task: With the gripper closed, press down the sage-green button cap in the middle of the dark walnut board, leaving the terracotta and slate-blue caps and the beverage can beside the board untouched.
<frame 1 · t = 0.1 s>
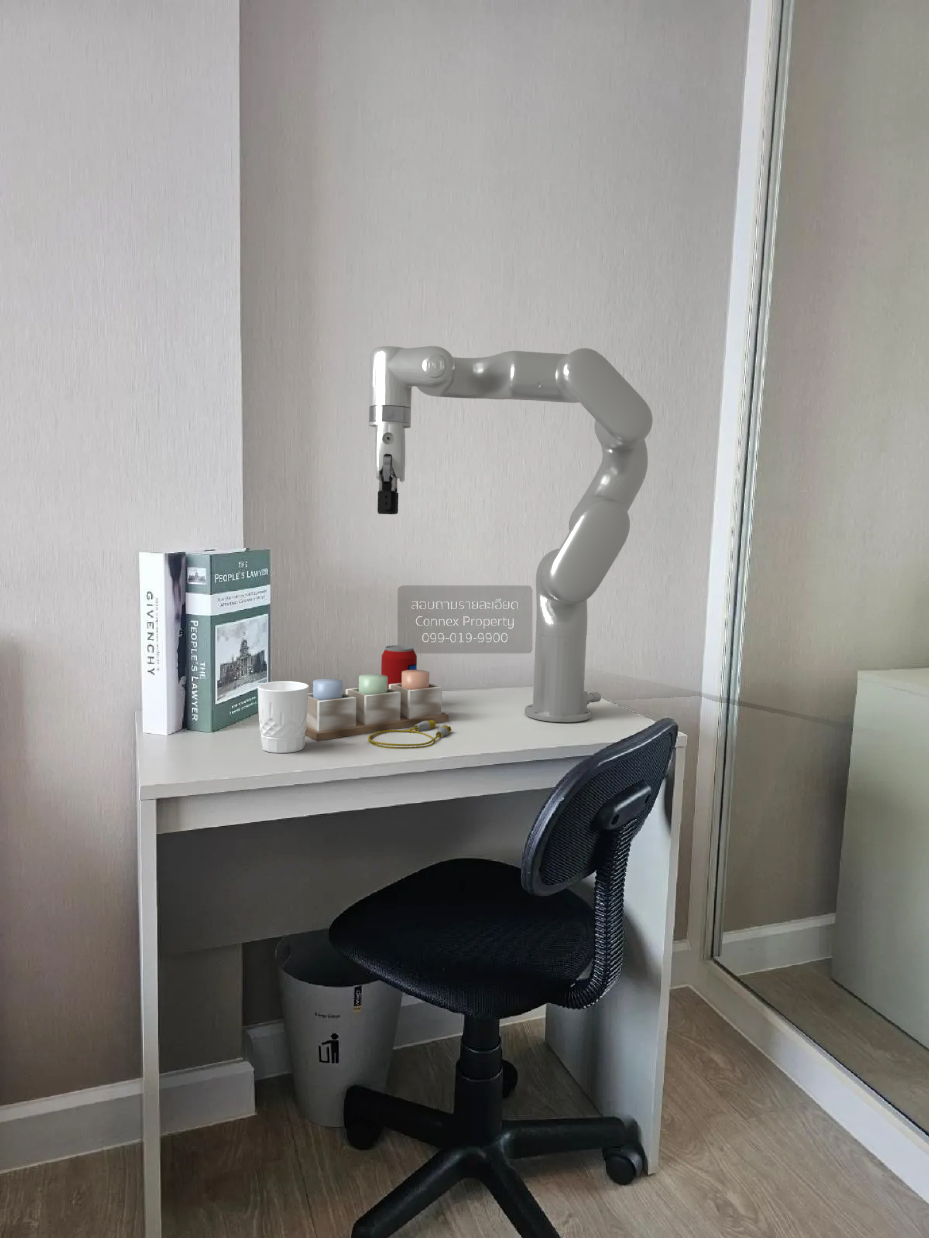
hand: (387, 514, 164), 37 cm above the table, tool pointing down, fingers open, 9 cm apart
beverage can: (398, 710, 172), on the table
sage green cap: (373, 690, 158), point 6 cm above the table, slide at 0.0 cm
button board: (372, 725, 159), on the table
white cup: (282, 749, 142), on the table
terracotta cap: (415, 685, 164), point 6 cm above the table, slide at 0.0 cm
slate blue cap: (327, 695, 153), point 6 cm above the table, slide at 0.0 cm
extension cord: (411, 742, 151), on the table
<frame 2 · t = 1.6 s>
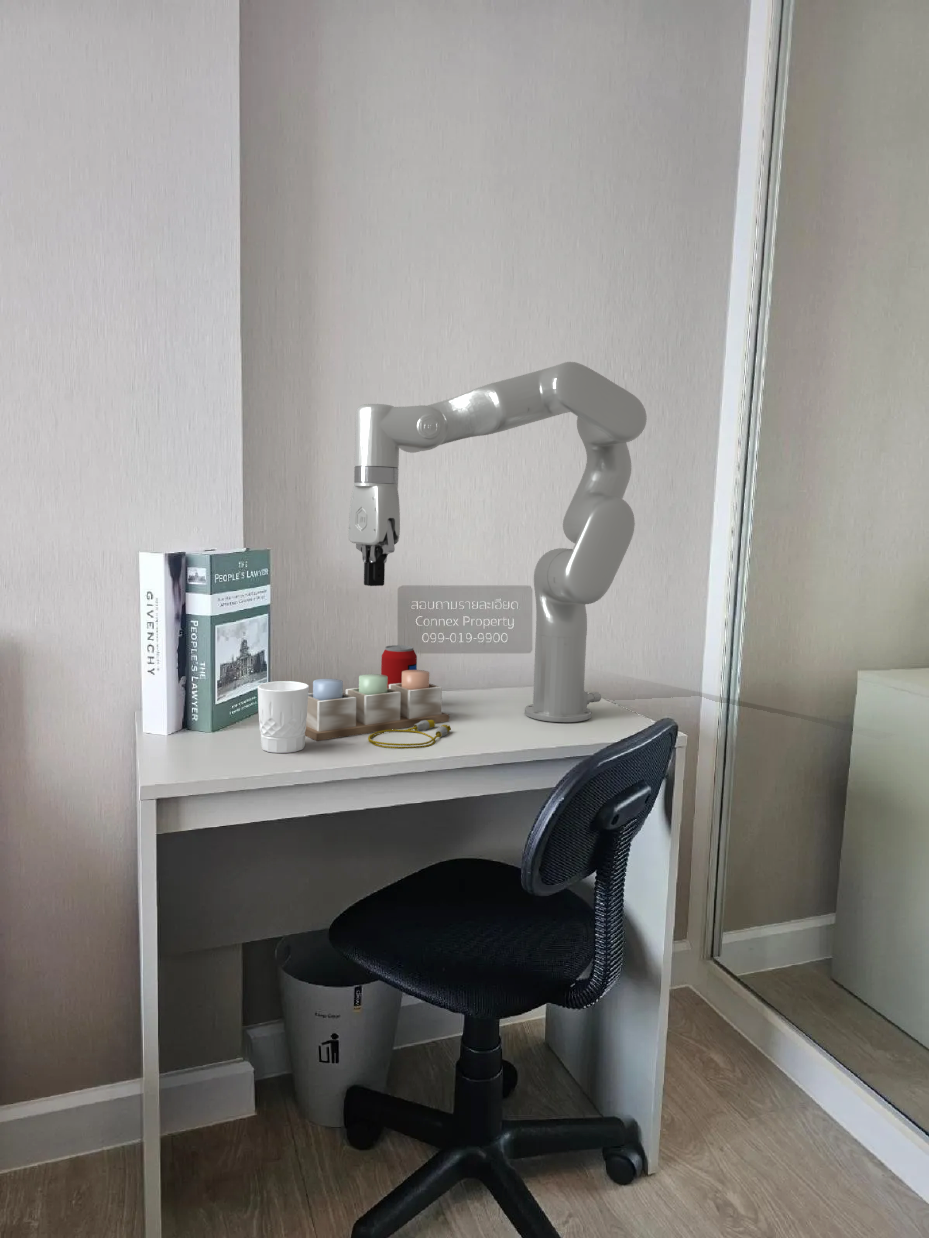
hand: (374, 585, 156), 25 cm above the table, tool pointing down, fingers closed
nothing on the table moved.
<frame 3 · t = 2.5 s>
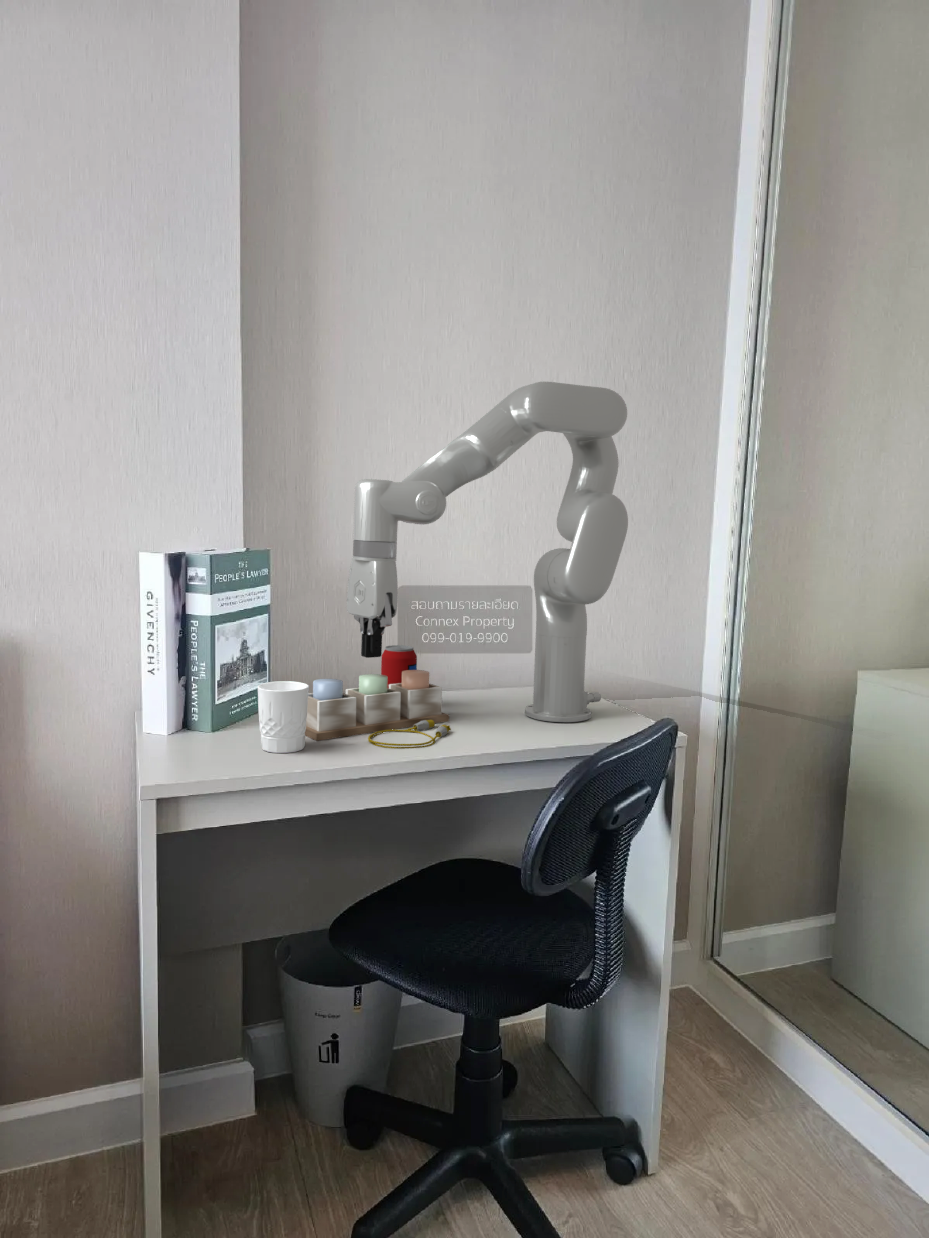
hand: (371, 656, 157), 12 cm above the table, tool pointing down, fingers closed
nothing on the table moved.
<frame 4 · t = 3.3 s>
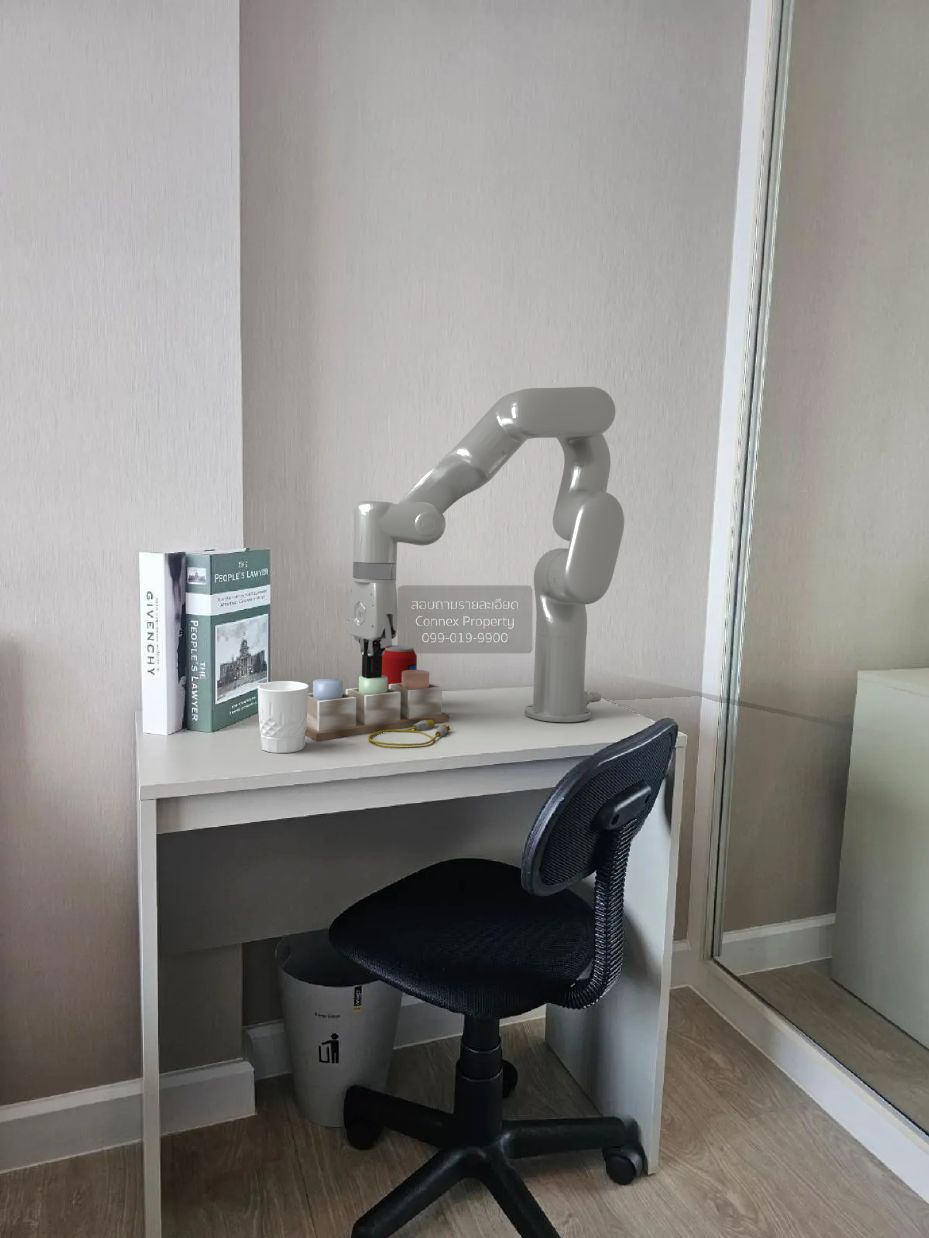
hand: (371, 677, 158), 9 cm above the table, tool pointing down, fingers closed
sage green cap: (373, 691, 158), point 6 cm above the table, slide at -0.1 cm, touching gripper
everything else where it was.
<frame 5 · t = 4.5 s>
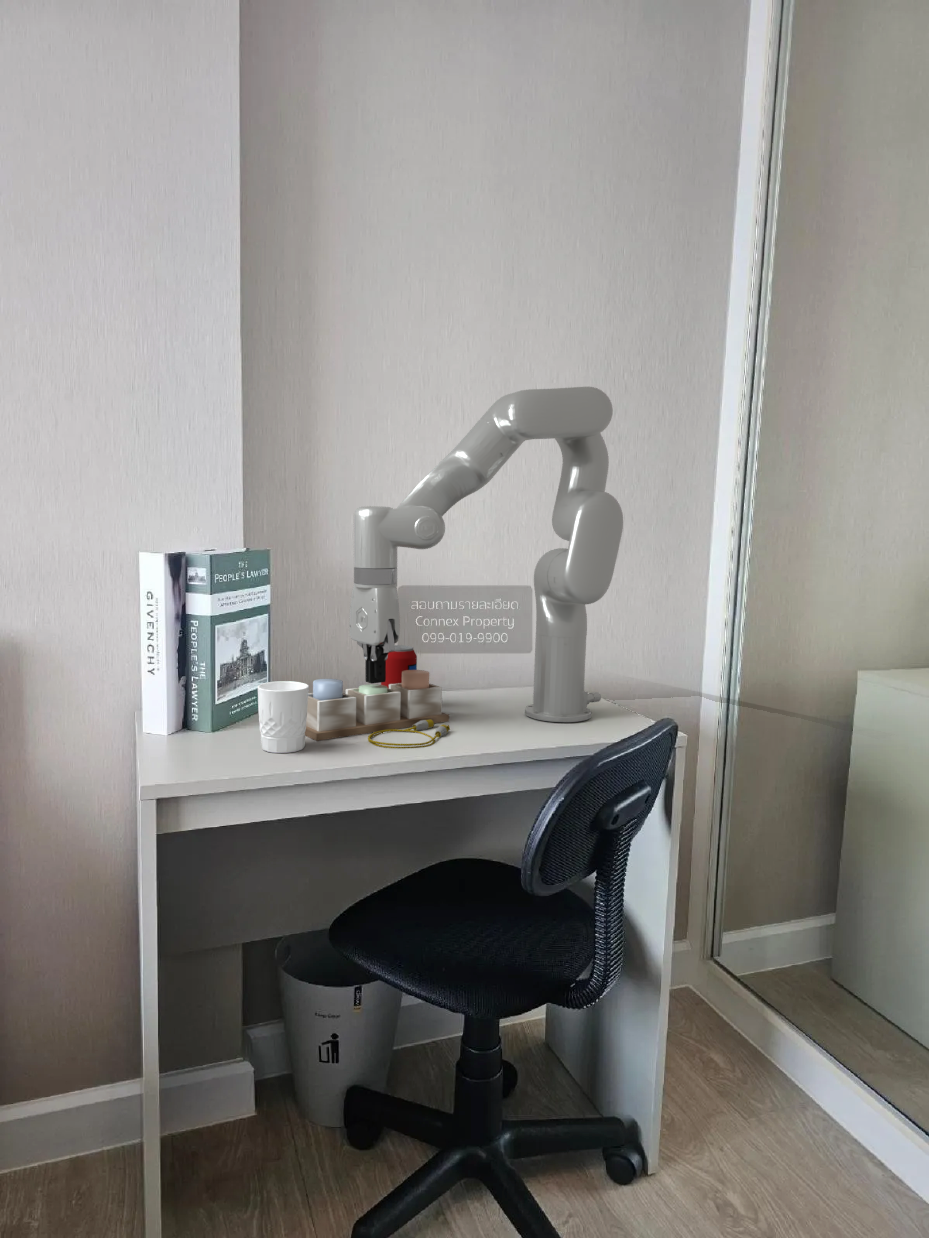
hand: (375, 681, 158), 8 cm above the table, tool pointing down, fingers closed
sage green cap: (372, 700, 158), point 4 cm above the table, slide at -1.8 cm
everything else where it was.
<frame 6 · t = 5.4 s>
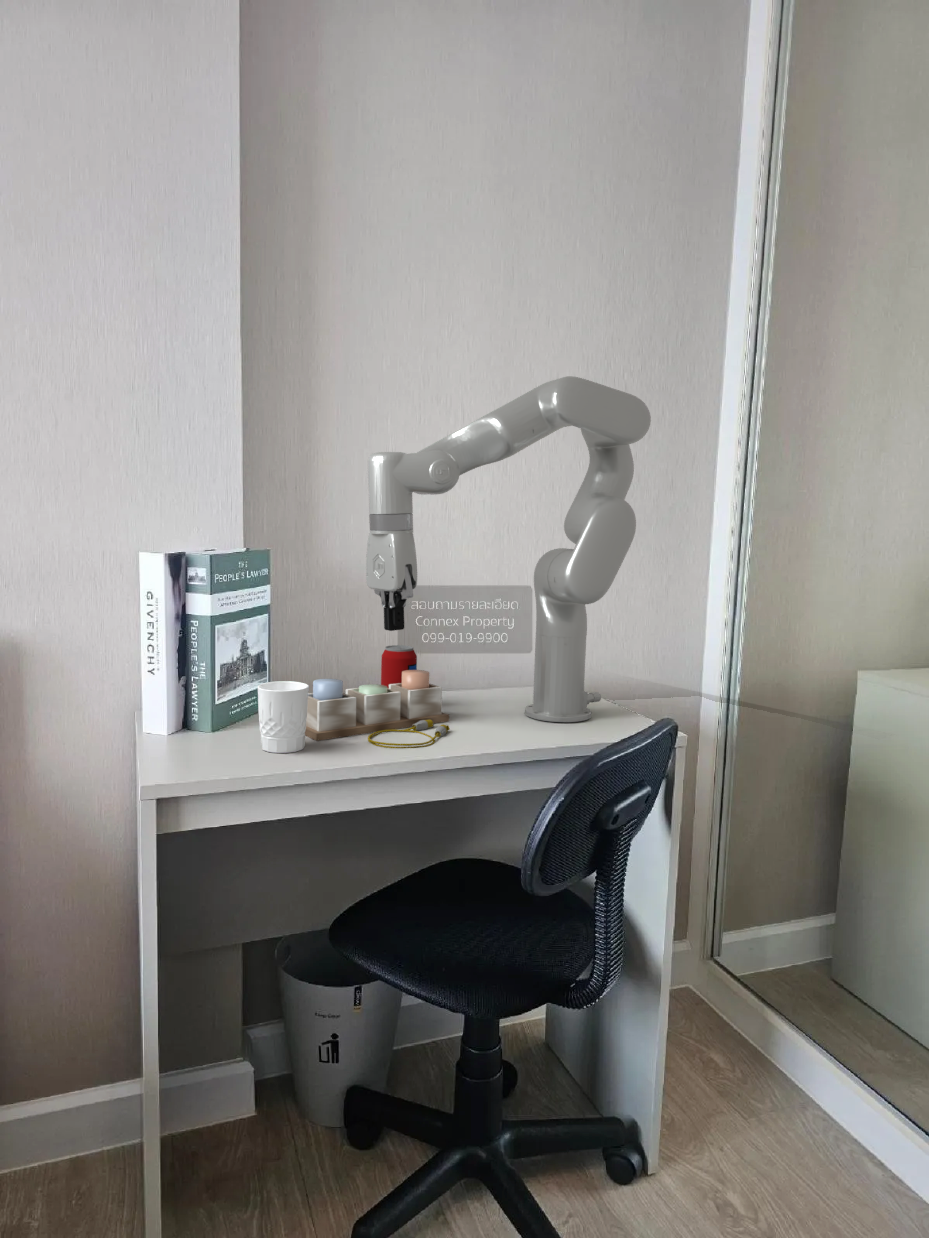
hand: (394, 629, 158), 17 cm above the table, tool pointing down, fingers closed
nothing on the table moved.
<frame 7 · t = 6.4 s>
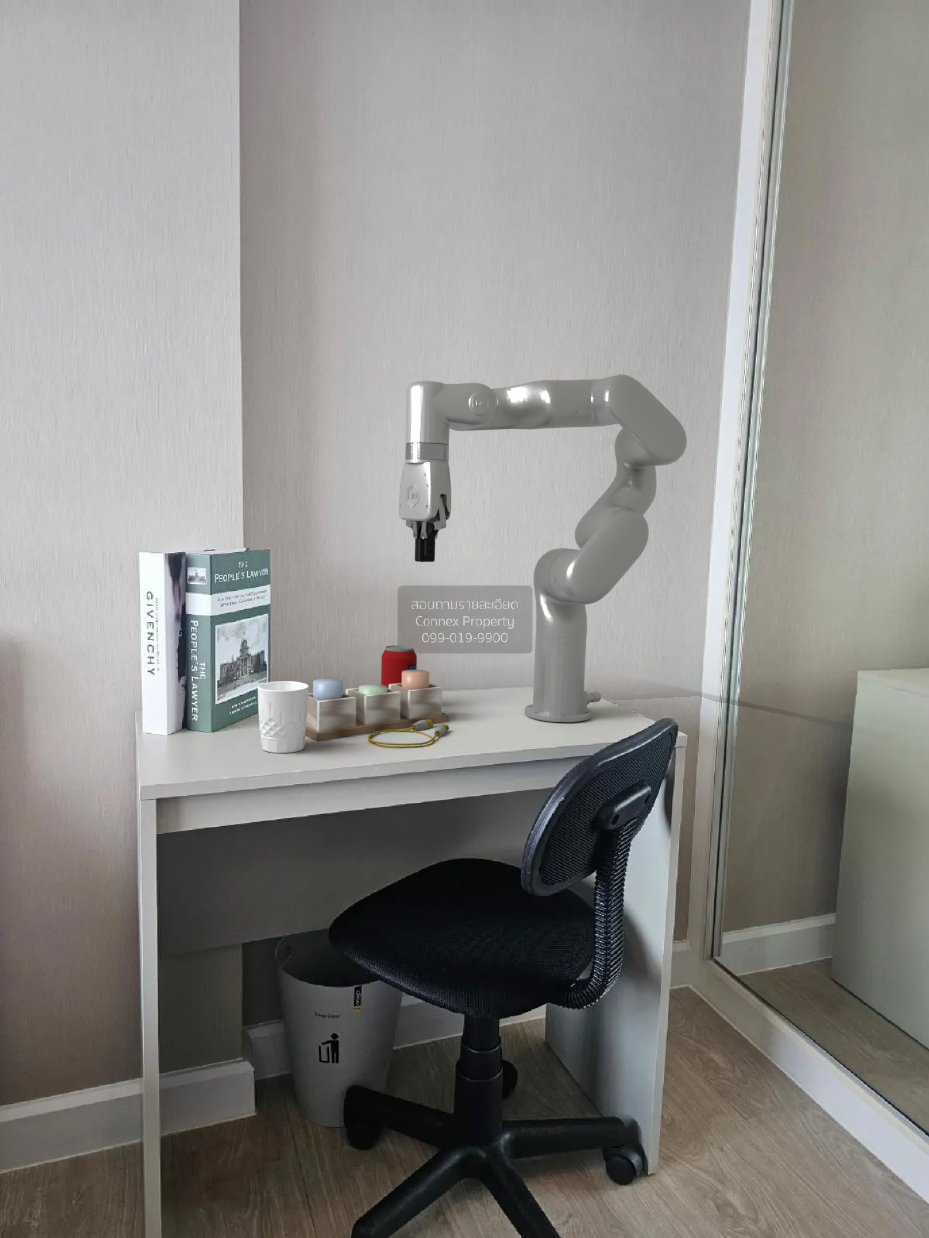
hand: (424, 561, 157), 29 cm above the table, tool pointing down, fingers closed
nothing on the table moved.
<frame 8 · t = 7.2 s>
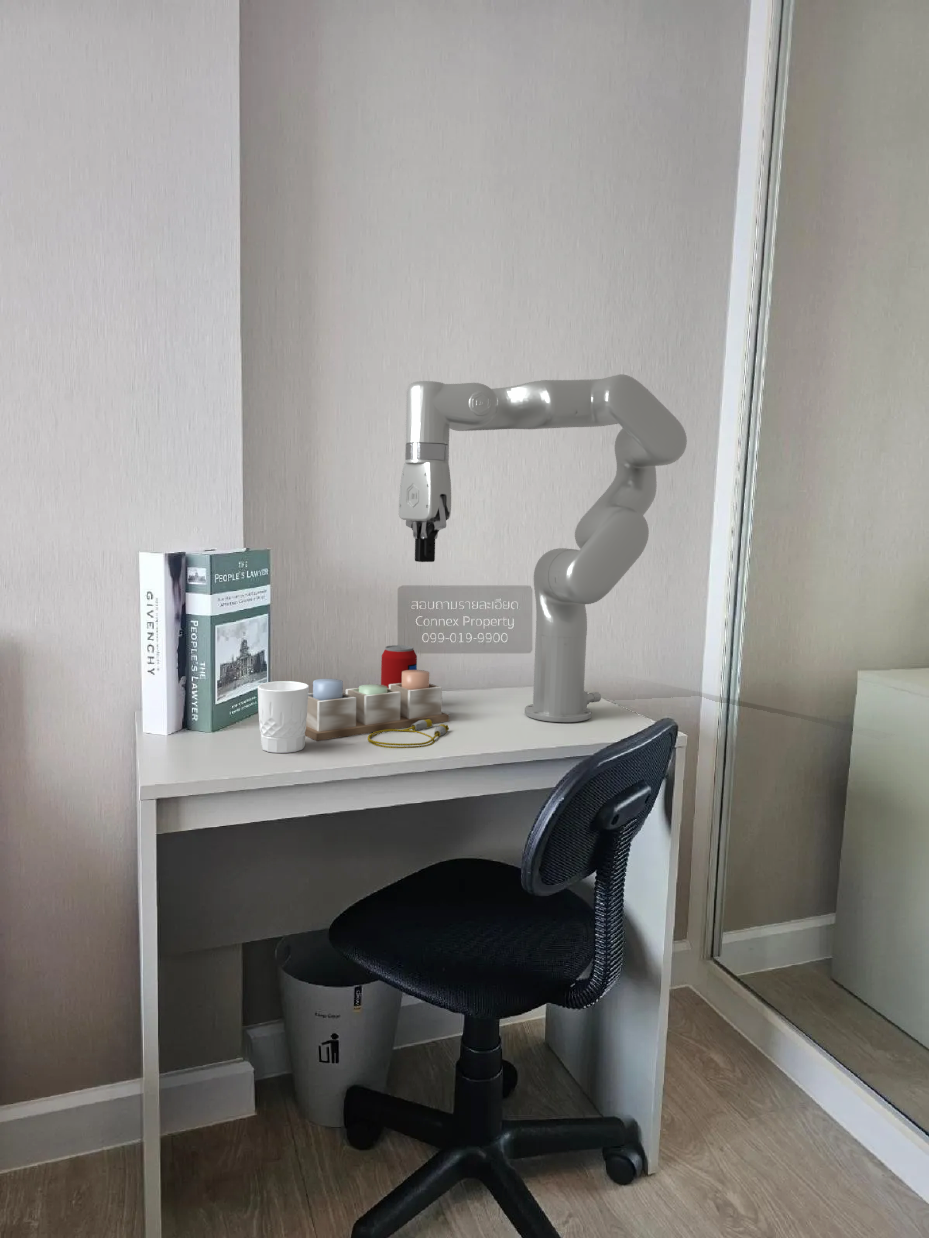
hand: (424, 561, 157), 29 cm above the table, tool pointing down, fingers closed
nothing on the table moved.
at the end: sage green cap slide at -1.8 cm; terracotta cap slide at 0.0 cm; slate blue cap slide at 0.0 cm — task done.
